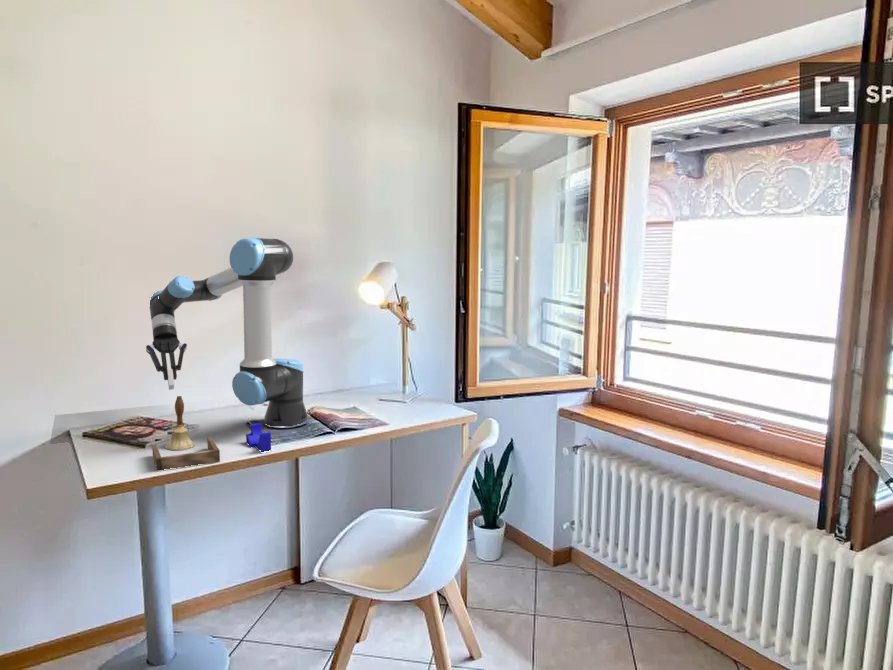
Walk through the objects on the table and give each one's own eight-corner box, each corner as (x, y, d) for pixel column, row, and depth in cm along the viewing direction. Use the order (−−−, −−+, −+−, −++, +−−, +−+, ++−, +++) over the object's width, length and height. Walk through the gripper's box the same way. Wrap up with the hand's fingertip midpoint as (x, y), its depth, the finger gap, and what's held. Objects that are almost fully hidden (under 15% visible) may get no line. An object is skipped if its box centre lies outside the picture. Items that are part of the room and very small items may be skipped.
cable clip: (246, 443, 188) (245, 424, 187) (260, 440, 190) (260, 423, 189) (256, 454, 178) (255, 435, 177) (271, 452, 180) (270, 433, 179)
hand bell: (198, 442, 187) (197, 393, 184) (188, 451, 178) (186, 400, 176) (172, 441, 186) (170, 392, 184) (160, 450, 178) (158, 399, 176)
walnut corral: (211, 448, 181) (211, 437, 181) (219, 461, 170) (219, 450, 170) (152, 456, 173) (152, 444, 172) (157, 471, 162) (156, 459, 161)
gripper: (183, 335, 211) (192, 391, 199) (143, 337, 204) (149, 395, 193) (185, 323, 206) (193, 379, 194) (143, 324, 199) (150, 382, 187)
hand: (171, 387), depth 193 cm, fingers closed
